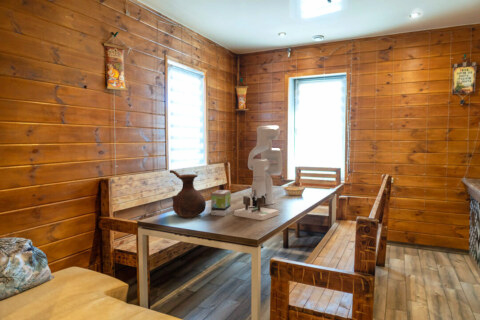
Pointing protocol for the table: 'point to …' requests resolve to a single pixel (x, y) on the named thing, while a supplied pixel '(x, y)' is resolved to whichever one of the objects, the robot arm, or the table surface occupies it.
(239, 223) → the table surface
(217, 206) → the tea box
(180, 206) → the jug
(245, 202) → the far peg
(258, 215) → the board
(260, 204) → the near peg
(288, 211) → the table surface
